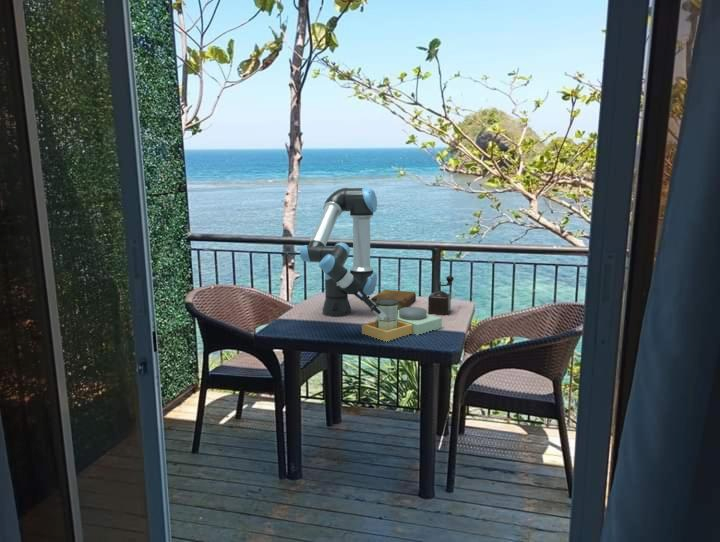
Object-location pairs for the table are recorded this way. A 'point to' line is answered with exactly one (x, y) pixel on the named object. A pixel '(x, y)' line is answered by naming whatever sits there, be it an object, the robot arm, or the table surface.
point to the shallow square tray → (386, 335)
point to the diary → (397, 297)
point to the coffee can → (390, 310)
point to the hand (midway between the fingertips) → (380, 313)
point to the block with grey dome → (419, 319)
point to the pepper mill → (440, 300)
